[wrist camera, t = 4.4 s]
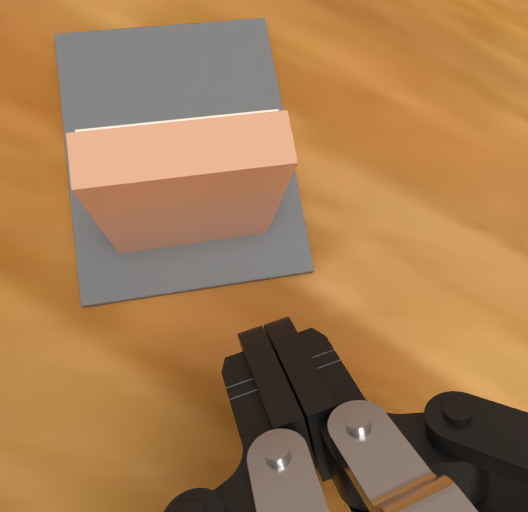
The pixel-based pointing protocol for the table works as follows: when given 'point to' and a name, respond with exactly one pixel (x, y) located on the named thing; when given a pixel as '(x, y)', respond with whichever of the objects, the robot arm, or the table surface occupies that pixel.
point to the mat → (171, 108)
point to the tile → (183, 177)
